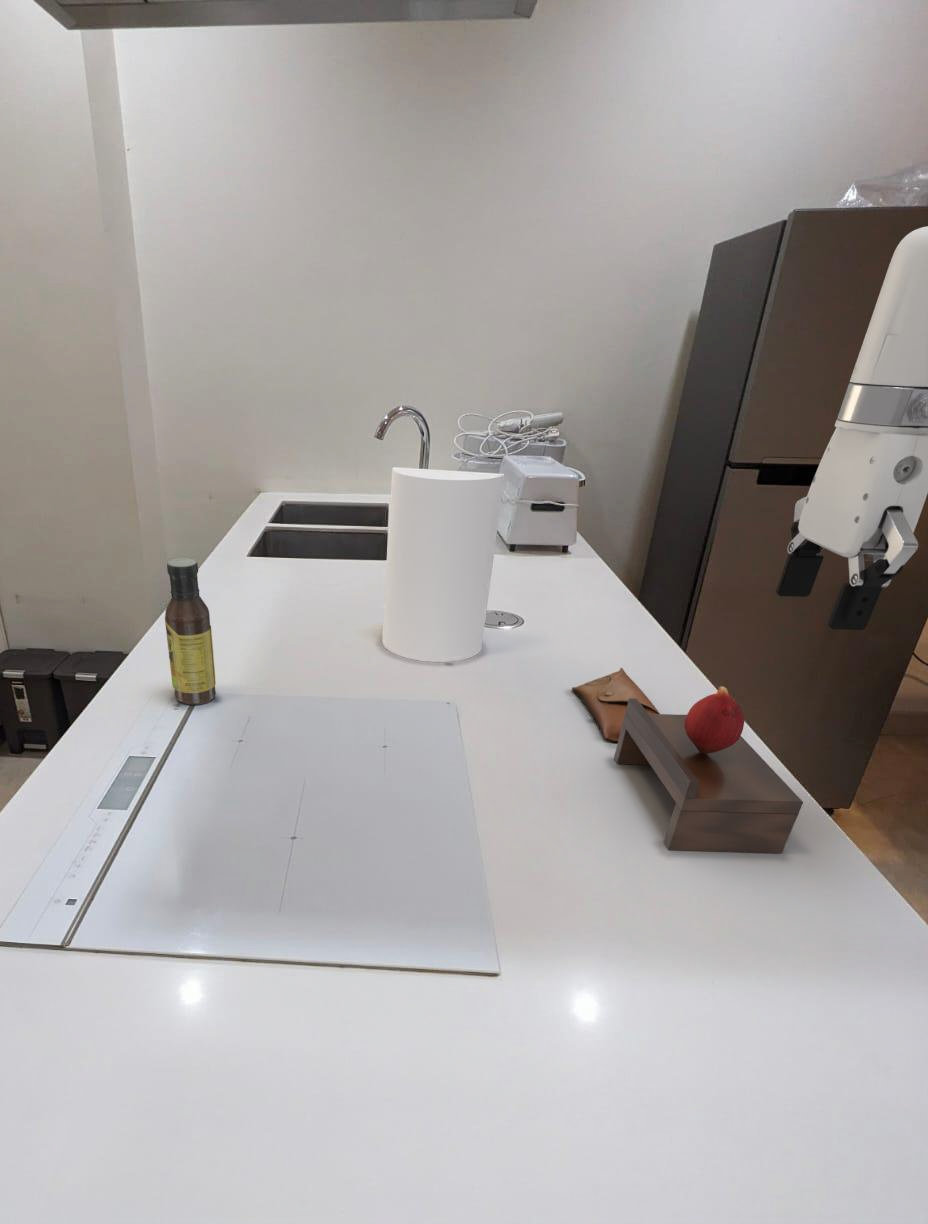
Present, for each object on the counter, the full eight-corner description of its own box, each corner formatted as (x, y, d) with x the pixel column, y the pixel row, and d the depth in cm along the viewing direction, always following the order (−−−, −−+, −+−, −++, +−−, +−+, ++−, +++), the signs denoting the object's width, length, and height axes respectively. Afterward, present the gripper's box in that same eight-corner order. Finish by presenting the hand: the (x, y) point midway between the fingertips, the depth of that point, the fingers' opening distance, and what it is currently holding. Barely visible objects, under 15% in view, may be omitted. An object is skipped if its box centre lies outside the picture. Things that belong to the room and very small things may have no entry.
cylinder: (475, 667, 122) (499, 483, 107) (372, 655, 126) (381, 475, 111) (486, 632, 136) (508, 465, 121) (393, 622, 140) (403, 459, 125)
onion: (735, 749, 85) (758, 684, 81) (729, 770, 81) (753, 703, 77) (681, 736, 88) (700, 673, 84) (672, 756, 84) (692, 690, 79)
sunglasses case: (567, 685, 115) (597, 650, 112) (601, 707, 117) (631, 673, 114) (605, 740, 99) (641, 701, 96) (644, 764, 102) (680, 727, 99)
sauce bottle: (182, 687, 113) (169, 552, 103) (221, 690, 112) (213, 555, 102) (167, 704, 108) (151, 565, 97) (208, 708, 107) (198, 568, 96)
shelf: (707, 761, 96) (727, 700, 92) (781, 853, 79) (810, 785, 75) (613, 758, 97) (628, 698, 92) (668, 850, 80) (690, 781, 75)
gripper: (1015, 422, 55) (913, 644, 64) (876, 402, 70) (810, 585, 79) (912, 420, 55) (825, 642, 64) (795, 400, 70) (738, 584, 79)
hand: (817, 611), depth 72 cm, fingers open, 9 cm apart
